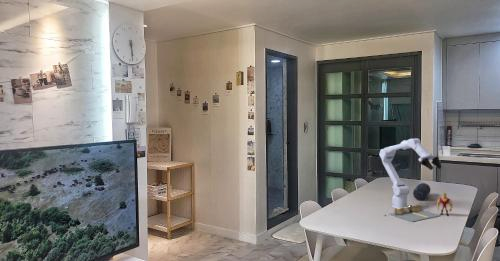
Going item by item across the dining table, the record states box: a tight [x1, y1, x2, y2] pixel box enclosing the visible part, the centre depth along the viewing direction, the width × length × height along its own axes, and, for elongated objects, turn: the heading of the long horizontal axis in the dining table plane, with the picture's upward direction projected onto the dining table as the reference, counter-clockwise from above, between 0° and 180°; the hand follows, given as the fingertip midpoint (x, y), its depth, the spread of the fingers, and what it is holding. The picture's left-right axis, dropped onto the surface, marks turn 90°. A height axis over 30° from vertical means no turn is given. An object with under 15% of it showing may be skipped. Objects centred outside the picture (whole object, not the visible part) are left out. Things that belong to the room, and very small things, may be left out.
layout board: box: [388, 209, 442, 223], centre depth 236 cm, size 19×26×1 cm
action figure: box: [436, 192, 453, 217], centre depth 235 cm, size 9×4×15 cm, turn 53°
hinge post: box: [407, 204, 413, 213], centre depth 241 cm, size 2×2×4 cm
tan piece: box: [393, 206, 409, 215], centre depth 238 cm, size 13×1×4 cm, turn 115°
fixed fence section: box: [412, 203, 422, 212], centre depth 244 cm, size 1×9×4 cm, turn 115°
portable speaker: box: [412, 182, 431, 201], centre depth 281 cm, size 25×10×10 cm, turn 146°
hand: (436, 168), depth 226 cm, fingers open, 7 cm apart
